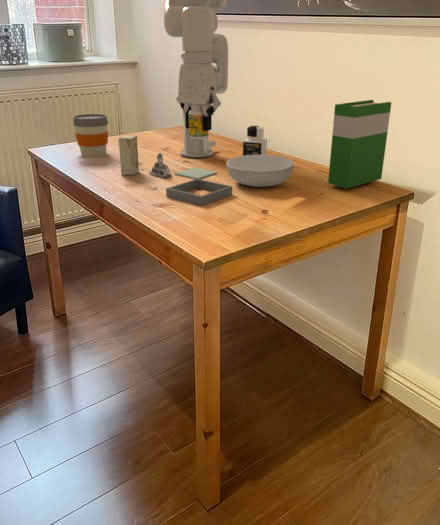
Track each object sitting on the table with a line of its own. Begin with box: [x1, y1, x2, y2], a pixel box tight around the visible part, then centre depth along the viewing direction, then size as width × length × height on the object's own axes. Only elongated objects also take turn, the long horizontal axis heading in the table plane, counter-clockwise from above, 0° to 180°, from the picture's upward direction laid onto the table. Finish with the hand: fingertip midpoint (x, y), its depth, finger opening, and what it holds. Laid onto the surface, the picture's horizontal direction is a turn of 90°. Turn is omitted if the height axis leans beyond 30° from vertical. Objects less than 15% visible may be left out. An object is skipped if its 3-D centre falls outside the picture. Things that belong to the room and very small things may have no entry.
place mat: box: [174, 167, 218, 180], centre depth 172 cm, size 10×10×1 cm
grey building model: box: [148, 152, 172, 179], centre depth 170 cm, size 9×9×8 cm
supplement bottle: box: [188, 104, 208, 139], centre depth 141 cm, size 5×5×10 cm
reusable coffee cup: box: [72, 113, 109, 159], centre depth 192 cm, size 13×13×15 cm
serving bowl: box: [225, 154, 295, 188], centre depth 161 cm, size 21×21×7 cm
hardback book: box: [327, 99, 392, 189], centre depth 160 cm, size 18×7×24 cm, turn 129°
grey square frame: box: [165, 178, 233, 207], centre depth 149 cm, size 14×14×2 cm
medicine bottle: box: [242, 125, 268, 156], centre depth 190 cm, size 7×7×12 cm
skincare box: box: [118, 134, 140, 176], centre depth 171 cm, size 6×4×12 cm
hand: (198, 128), depth 142 cm, fingers closed on supplement bottle, 5 cm apart
